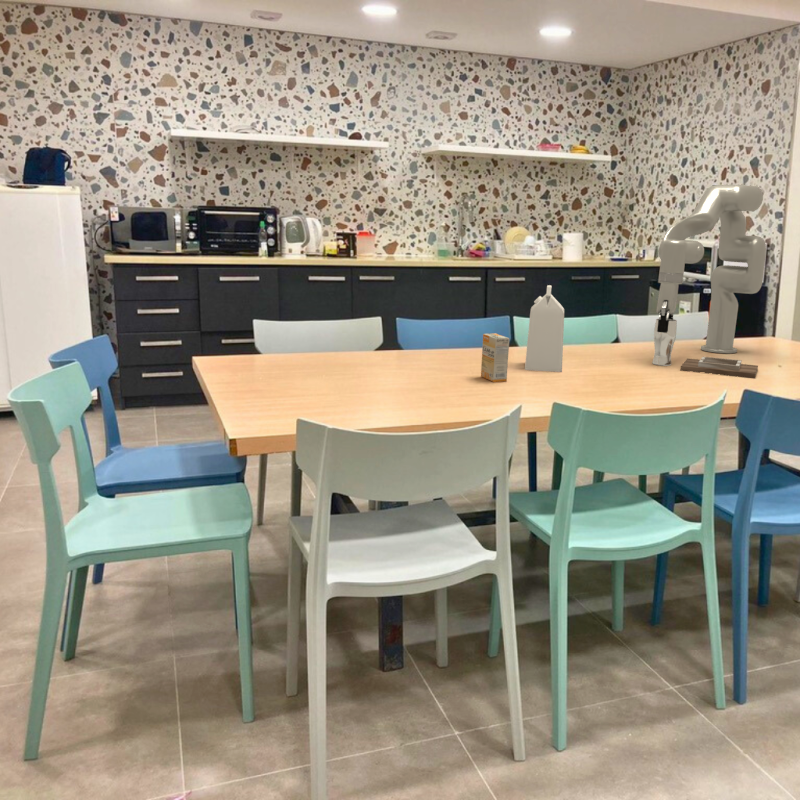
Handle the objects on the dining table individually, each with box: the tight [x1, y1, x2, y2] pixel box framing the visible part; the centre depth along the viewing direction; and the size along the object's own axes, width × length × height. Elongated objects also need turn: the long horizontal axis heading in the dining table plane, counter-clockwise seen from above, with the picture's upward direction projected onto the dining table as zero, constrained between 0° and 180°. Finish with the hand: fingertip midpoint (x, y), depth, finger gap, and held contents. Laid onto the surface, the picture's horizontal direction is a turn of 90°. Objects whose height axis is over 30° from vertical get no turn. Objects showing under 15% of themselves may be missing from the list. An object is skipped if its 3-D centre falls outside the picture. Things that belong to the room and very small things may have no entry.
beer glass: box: [652, 318, 678, 367], centre depth 253 cm, size 7×7×15 cm
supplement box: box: [480, 332, 510, 383], centre depth 222 cm, size 8×5×13 cm, turn 21°
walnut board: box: [679, 356, 759, 379], centre depth 247 cm, size 16×22×3 cm
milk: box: [524, 284, 565, 373], centre depth 241 cm, size 12×12×26 cm
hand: (664, 330), depth 252 cm, fingers open, 9 cm apart
